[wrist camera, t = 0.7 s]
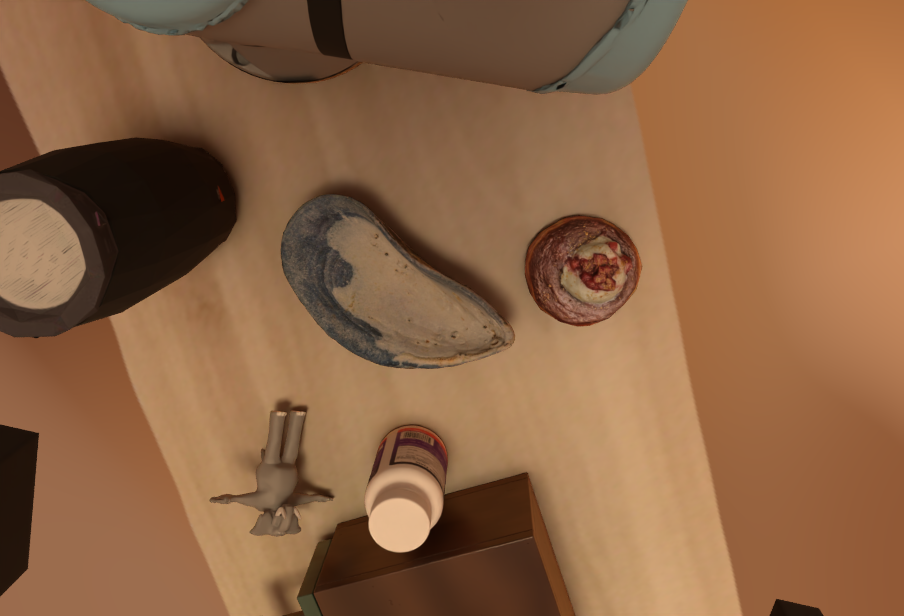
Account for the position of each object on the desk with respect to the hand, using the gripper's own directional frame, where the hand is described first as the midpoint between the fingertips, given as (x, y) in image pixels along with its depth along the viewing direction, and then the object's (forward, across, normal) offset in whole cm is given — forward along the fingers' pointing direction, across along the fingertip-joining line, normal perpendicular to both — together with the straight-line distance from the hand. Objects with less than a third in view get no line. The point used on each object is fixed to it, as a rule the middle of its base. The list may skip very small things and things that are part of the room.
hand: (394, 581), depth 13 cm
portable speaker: (+41, -19, -3) cm, 45 cm away
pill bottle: (+41, 0, -18) cm, 45 cm away
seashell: (+41, -4, -4) cm, 41 cm away
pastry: (+41, +9, -1) cm, 42 cm away
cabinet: (+41, +6, -27) cm, 50 cm away
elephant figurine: (+41, -10, -21) cm, 47 cm away
